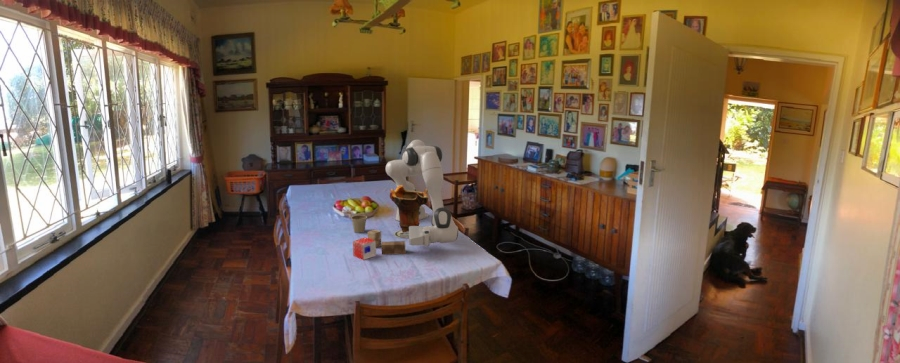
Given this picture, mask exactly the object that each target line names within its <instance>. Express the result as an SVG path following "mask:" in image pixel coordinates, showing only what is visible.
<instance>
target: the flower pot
mask: <svg viewBox="0 0 900 363" xmlns="http://www.w3.org/2000/svg"><path fill="white" fill-rule="evenodd" d="M350 219H351V221H352V226H353V227H352V228H353V232H354V233H357V234H359V233H364V232H365V231H366V222H367V219H368V216H367V215H364V214H357V215H356V214H355V215H353V216H351V217H350Z"/></svg>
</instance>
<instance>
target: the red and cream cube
mask: <svg viewBox="0 0 900 363" xmlns="http://www.w3.org/2000/svg"><path fill="white" fill-rule="evenodd" d="M376 248H377V247H376V245H375V240H372V239H369V238H368V237H365V236H364V237H362V238H358V239H355V240H353V241H352V255H353V257H354V258H358V259H360V260H363V261H365V260H367V259H369V258H372V257H375V256H377V253H376V252H377V250H376Z"/></svg>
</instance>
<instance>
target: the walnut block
mask: <svg viewBox="0 0 900 363" xmlns="http://www.w3.org/2000/svg"><path fill="white" fill-rule="evenodd" d="M406 251H407V250H406V241H405V240H400V241H399V240H397V241H396V240H394V241H381V255H401V254H402V255H403V254H404V255H406Z"/></svg>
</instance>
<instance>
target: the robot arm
mask: <svg viewBox="0 0 900 363" xmlns="http://www.w3.org/2000/svg"><path fill="white" fill-rule="evenodd" d="M442 160H443V151H442V149H441V148H440V147H439V146H437V145H426V144H425V142H424V141H423V140H421V139H413V140H412V141H411V142H410V143H409V144H408V145H407V146H406V148H405V150H404V152H403V154H402V158H401V159H393V160H389V161H388V162H387V163H386V165H385V173H386V174H387V176H389V177H390V178H391V179H392V180H393V181H394V182H395V183H394V184H395V185H396V188H397V187H398V186H400V185H403V187H404V189H405V190H407V191H416V190H415V189H416V188H415V185H414V184H413V183H412V182H411V181H408V180H407V177H415V176H421V175H422V178H423V181H424V185H425V187H426V189H427V190H428V192H427V193H428V195H429V199H430V203H431V204H430V205H431V209H432V217H431V225H425V226H421V225H419V226H409V232H404V233H400V238H399V239H406V240H408V242H409V243H408V244H409V246H416V247H417V246H418V247H419V246H424V247H428V246H430V245H431V244H435V243H439V244H447V243H453V242H456V240H457V239H458V236H459V227H458V225H456V223H455V221H454V218H453V217H452V213H451V211H450V209H448V208H447V207H444V202H443V195H442V192H443V184H444V172H443V168H442V167H443V166H442V163H441V161H442ZM396 207H397V206H396ZM428 217H429V214H428V213H426V209H425V206H423V205H421V206H420V210H419V221H421V220H424V219H425V218H426V219H427V218H428ZM394 218H395V219H394V220H396V221H398V222H400V218H399V209H398V207H397V208H396V215H395V217H394Z"/></svg>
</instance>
